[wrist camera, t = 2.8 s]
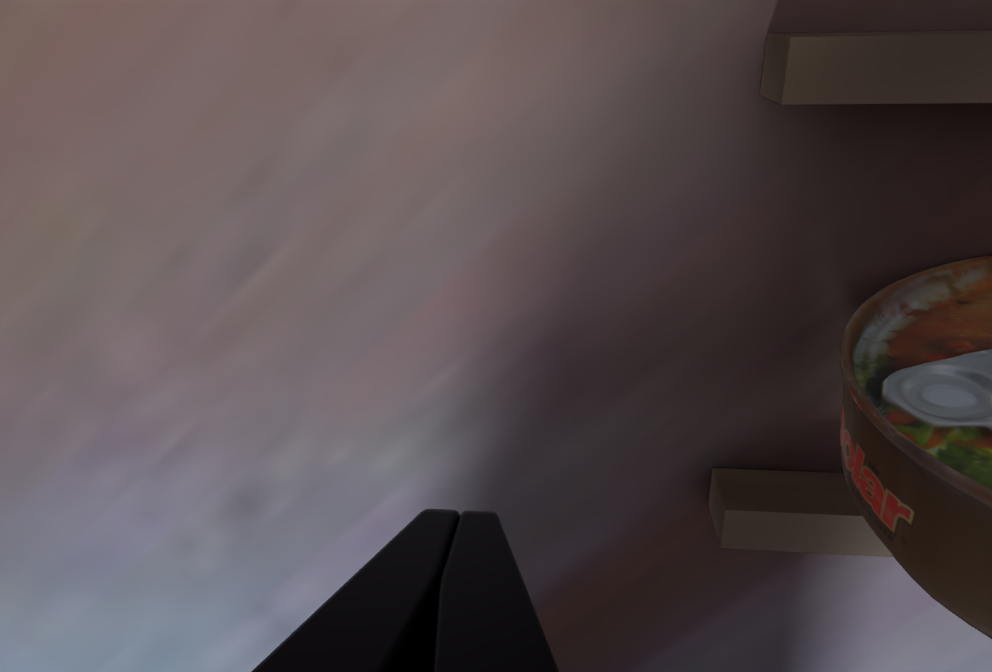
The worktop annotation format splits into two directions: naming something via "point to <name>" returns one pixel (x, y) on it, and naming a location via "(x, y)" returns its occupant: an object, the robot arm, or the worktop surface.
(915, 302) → the tin
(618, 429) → the worktop surface
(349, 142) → the worktop surface
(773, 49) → the dock
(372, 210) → the worktop surface
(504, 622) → the robot arm
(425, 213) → the worktop surface
